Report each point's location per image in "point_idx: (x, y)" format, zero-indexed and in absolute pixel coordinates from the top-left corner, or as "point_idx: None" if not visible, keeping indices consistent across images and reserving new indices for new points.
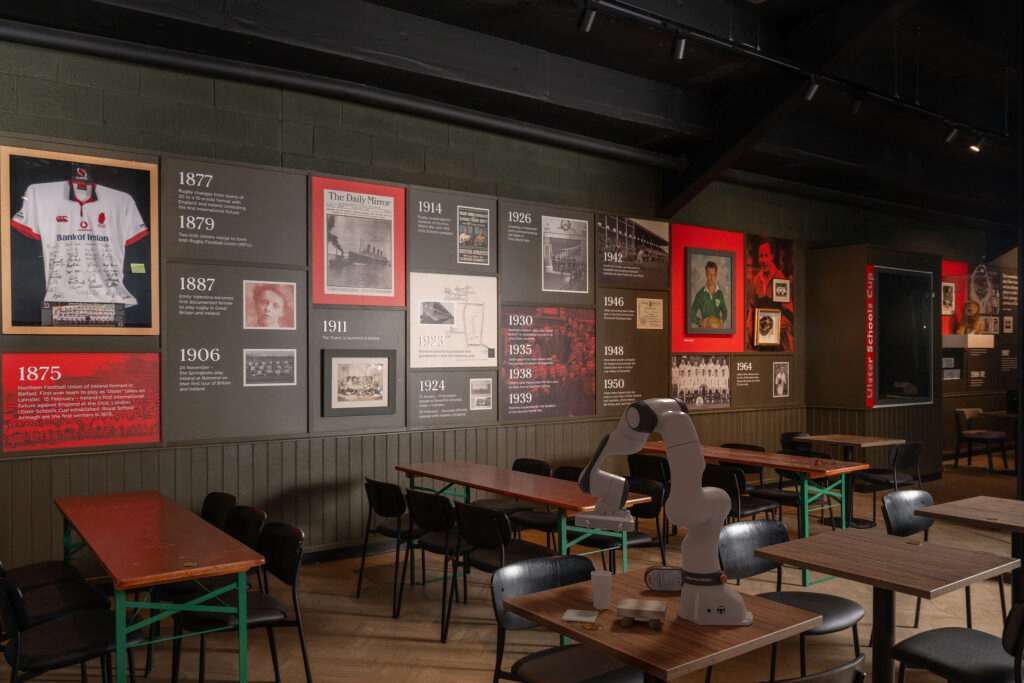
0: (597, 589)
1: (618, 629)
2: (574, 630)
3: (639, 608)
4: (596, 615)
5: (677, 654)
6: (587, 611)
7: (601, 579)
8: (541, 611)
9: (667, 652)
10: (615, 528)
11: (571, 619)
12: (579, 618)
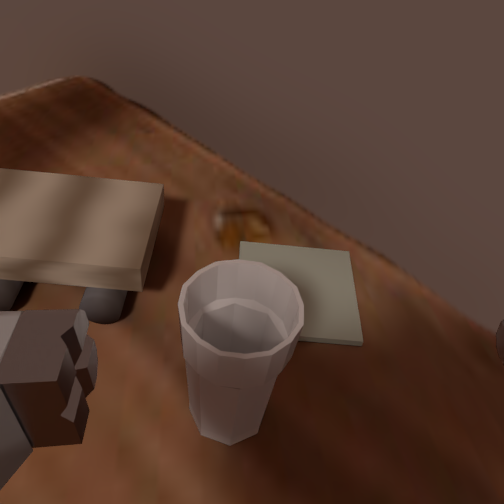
0: (252, 321)
1: None
2: (288, 202)
3: (81, 184)
4: None
5: (34, 112)
6: None
7: (234, 275)
8: (454, 333)
9: (55, 118)
10: (84, 318)
11: (316, 250)
12: (293, 260)
